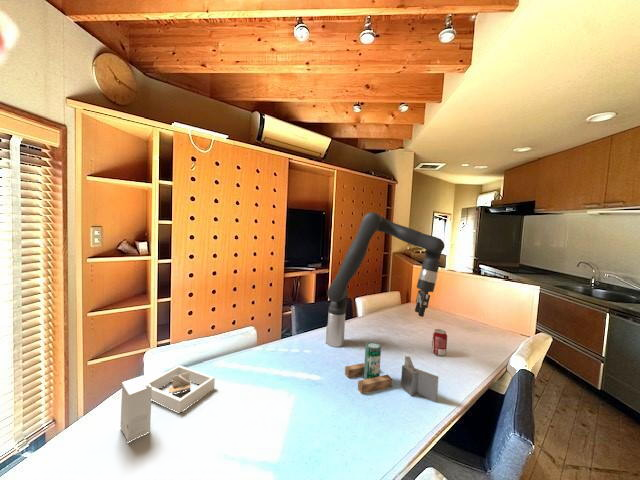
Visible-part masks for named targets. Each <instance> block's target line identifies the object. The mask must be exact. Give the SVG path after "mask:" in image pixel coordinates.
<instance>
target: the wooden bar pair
mask: <svg viewBox="0 0 640 480" xmlns="http://www.w3.org/2000/svg"><path fill="white" fill-rule="evenodd" d="M364 366H365V362H362V363H357V364H352V365H346V366H344V367H345V368H344V375H345V376H346V378H347V379H350V378H355V377H361V376H364ZM388 388H393V378H392V377H391V376H390V375H389V374H384V375H380V376H379V377H374V378H369V379H365V380H364V379H360V380H358V381H357V390H358V392H359V393H360V395H363V394H364V395H365V394H368V393H372V392H377V391H380V390H385V389H388Z"/></svg>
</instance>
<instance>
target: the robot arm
mask: <svg viewBox="0 0 640 480" xmlns="http://www.w3.org/2000/svg"><path fill="white" fill-rule="evenodd" d="M376 232H381V233H385V234H388V235H390V236H392V237H394V238H396V239H398V240H400V241H402V242H404V243H407V244H409V245H412V246H413V247H414V246H415V247H418V248H419V247H420V248H422V249H424V250H425V256H424V259H423V260H422V266H421V269H420V273H419V275H418V278H417V279H418V280H417V284H416V288H417V289H418V290H417V295H416V299H415V309H414V312H415V313H418V314H417V315H418V316H419V317H421V318H423V317H424V316H425V312H426V309H428V306H429V303H430V298H431V295H430V294H429V293H433V292H435V287H436V283H437V278H438V272H439V268H440V259H441V256H442V252H443V250H445V241H444V240H442V239H441V238H439V237H436V236H434V235H430V234H427V233H426V234H425V233H423V232H421V231H419V230H416V229H413V228H411V227H407V226H404V225H401V224H398V223H395V222H393V221H392V220H391V221H390V220H389V219H387V218H385V217H383V216H382V215H380V214H379V213H377V212H373V211H372V212H371V211H370V212H368V213H366V214H365V215H364V216H363V218H362V220H361V223H360V225H359V228H358V231H357V234H356V235H355V237H354V239H353V241H352V242H351V245H350V246H349V248H348V250H347V252H346V254H345V255H344V258H343V260H342V263H341V264H340V267H339V270H338V272H337V274H336V275H335V278H334V279H333V281H332V283H331V284H330V285H329V287H328V288H327V293H326V294H327V298H328V299H329V300H330V303H329V306H328V316H327V317H328V318H327V325H326V330H325V331H326V332H325V333H326V334H325V344H327V345H329V346H330V347H333V348H338V347H340V348H341V347H343V346H344V344H345V327H346V309H347V306H348V292H349V291H348V287H347V286H348V284H349V282H350V281H351V279H353V277H354V276H355V274H356V273H357V272H358V270H359V269H360V267H361V265H362V263H363V261H364V260H365V257H366V255H367V251H368V248H369V245H370V242H371V239H372V238H373V236H374V235H375V233H376Z"/></svg>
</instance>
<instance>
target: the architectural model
mask: <svg viewBox="0 0 640 480" xmlns="http://www.w3.org/2000/svg"><path fill="white" fill-rule="evenodd" d="M185 390H189V391H190V392H191V382H190V381H189V372H188V373H184V374H180V375H176V376H173V381H172V386H171V387H168V393H169V394H171V395H172V394H174V393H177V392H180V393H179V394H182V395H184V394H183V393H184V392H183V391H185ZM185 392H186V391H185Z"/></svg>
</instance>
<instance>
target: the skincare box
mask: <svg viewBox="0 0 640 480" xmlns="http://www.w3.org/2000/svg"><path fill="white" fill-rule="evenodd" d="M148 382H149V380H148V379H146V378H145V375H140V376H138V377H133V378H131V379H128V380H125V381H122V382H121V383H122V385H121V405H120V407H121V408H120V409H121V410H120V427H121V429H122V430H121V429H120V430H121V432H122V431H123V432H124V434H125V436H124V438H125V437H126V438H125V440H126V439H127V441H126V443H127V442H129V441H131V440H133V439H135V438H137V437H139V436H141V435H144V434H146V433H147V432H150V433H151V419H152V418H151V416H152V415H151V414H152V402H151V397H152V386H151V385H150V384H149V383H148ZM120 427H119V428H120ZM123 432H122V433H123ZM124 434H123V435H124ZM146 435H147V434H146ZM144 436H145V435H144Z"/></svg>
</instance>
